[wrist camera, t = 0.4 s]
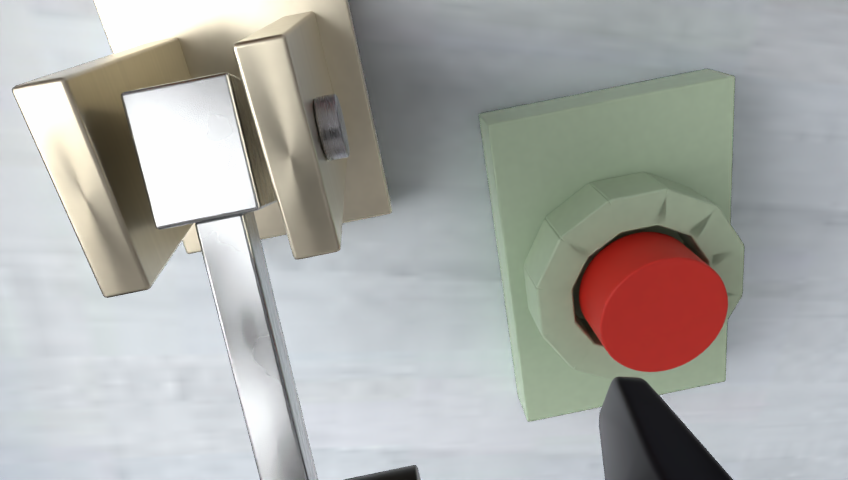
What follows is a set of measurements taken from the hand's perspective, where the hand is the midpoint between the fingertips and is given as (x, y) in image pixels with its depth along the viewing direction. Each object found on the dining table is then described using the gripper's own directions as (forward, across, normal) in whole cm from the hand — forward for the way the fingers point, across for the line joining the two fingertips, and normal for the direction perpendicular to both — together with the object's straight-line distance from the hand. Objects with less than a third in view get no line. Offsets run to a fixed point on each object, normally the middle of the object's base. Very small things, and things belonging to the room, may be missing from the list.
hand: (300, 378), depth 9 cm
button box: (+13, -9, +7) cm, 17 cm away
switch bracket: (+13, +4, +2) cm, 13 cm away
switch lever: (+5, +2, +4) cm, 7 cm away
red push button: (+10, -9, +6) cm, 15 cm away
